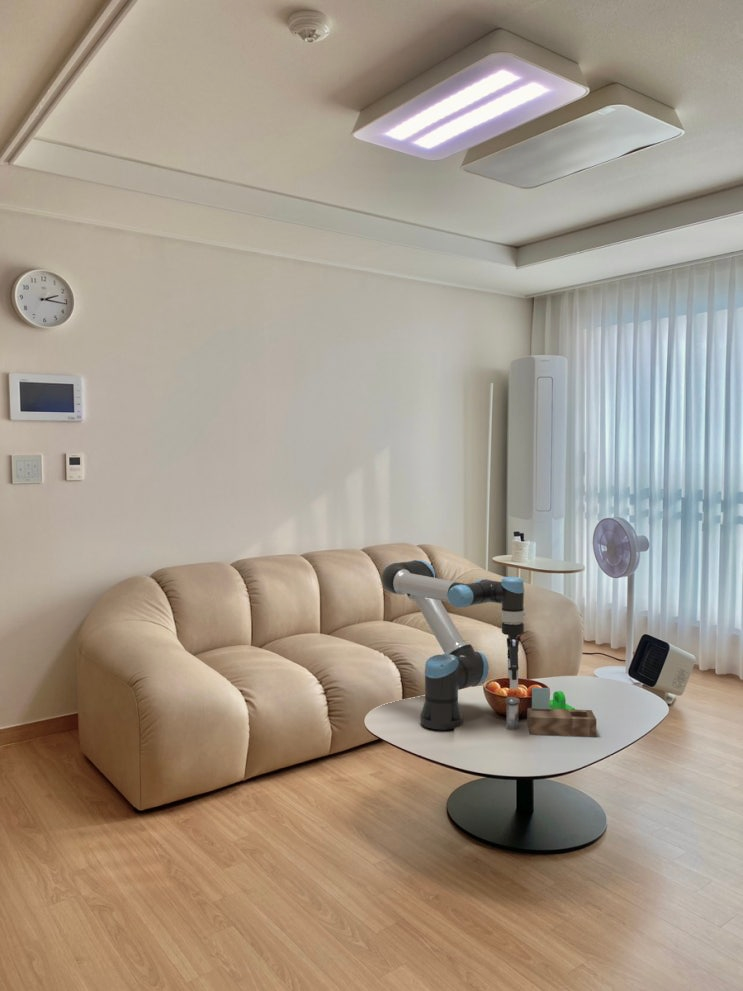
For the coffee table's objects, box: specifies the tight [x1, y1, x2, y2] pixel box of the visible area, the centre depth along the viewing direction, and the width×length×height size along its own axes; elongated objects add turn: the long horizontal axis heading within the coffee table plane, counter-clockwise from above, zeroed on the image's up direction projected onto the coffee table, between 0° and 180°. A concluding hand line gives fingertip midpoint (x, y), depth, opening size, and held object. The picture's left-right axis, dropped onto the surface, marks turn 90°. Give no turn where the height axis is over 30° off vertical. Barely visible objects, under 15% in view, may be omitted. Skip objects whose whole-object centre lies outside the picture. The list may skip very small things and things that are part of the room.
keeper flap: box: [530, 687, 551, 710], centre depth 275 cm, size 6×1×8 cm, turn 83°
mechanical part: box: [550, 690, 576, 710], centre depth 295 cm, size 12×6×8 cm, turn 17°
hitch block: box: [526, 707, 597, 738], centre depth 271 cm, size 22×10×6 cm, turn 83°
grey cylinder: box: [504, 696, 520, 731], centre depth 274 cm, size 5×5×10 cm
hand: (512, 683), depth 273 cm, fingers open, 13 cm apart
